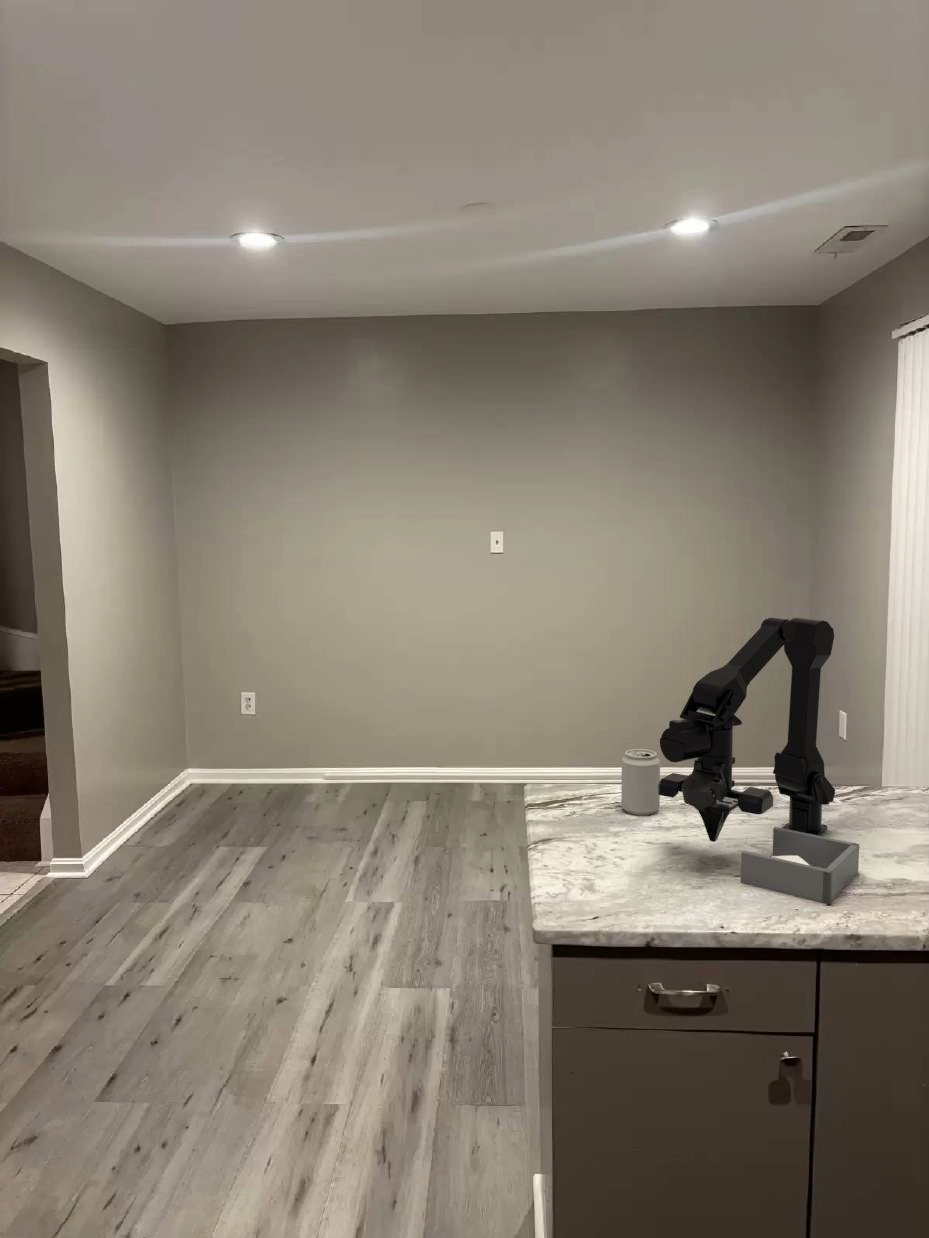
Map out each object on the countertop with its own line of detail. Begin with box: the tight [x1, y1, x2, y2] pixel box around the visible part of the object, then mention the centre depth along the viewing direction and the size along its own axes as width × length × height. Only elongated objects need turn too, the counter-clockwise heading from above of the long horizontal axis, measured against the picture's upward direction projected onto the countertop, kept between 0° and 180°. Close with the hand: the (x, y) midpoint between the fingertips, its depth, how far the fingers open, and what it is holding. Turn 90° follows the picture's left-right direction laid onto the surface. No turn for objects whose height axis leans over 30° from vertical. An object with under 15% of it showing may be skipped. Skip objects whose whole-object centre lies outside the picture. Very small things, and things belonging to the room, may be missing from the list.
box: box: [740, 826, 860, 905], centre depth 154 cm, size 15×14×5 cm
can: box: [620, 748, 661, 816], centre depth 188 cm, size 8×8×12 cm
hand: (713, 840), depth 163 cm, fingers closed
